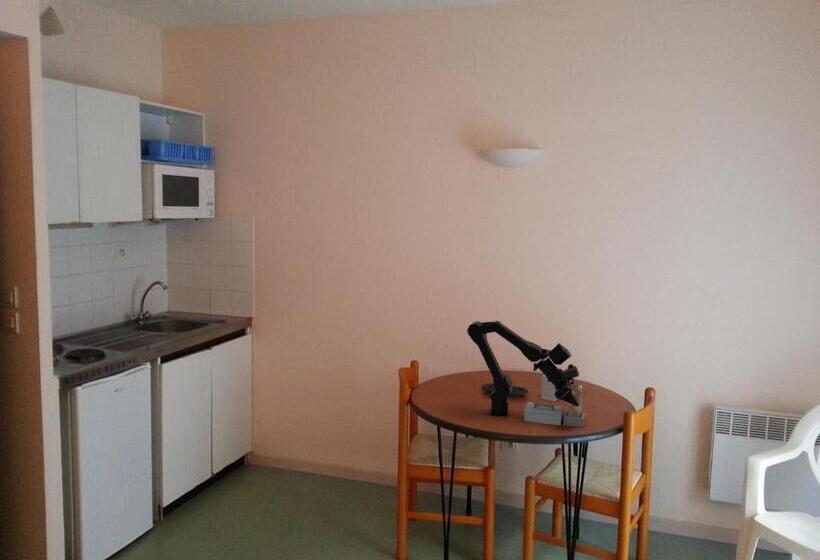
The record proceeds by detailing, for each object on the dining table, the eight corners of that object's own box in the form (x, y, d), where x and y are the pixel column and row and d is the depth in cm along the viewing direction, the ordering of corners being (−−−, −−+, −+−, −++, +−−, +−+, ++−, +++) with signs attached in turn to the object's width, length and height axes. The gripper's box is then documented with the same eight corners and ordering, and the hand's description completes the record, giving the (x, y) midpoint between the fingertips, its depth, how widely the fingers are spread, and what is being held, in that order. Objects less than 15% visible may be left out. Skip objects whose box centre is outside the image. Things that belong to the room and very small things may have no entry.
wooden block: (567, 424, 256) (570, 386, 254) (568, 420, 260) (570, 383, 258) (579, 425, 255) (581, 388, 253) (580, 421, 259) (582, 385, 257)
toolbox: (523, 421, 259) (524, 405, 258) (527, 412, 268) (528, 398, 268) (583, 428, 252) (584, 413, 251) (584, 419, 261) (585, 404, 261)
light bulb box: (552, 393, 296) (553, 370, 294) (565, 396, 292) (567, 372, 290) (540, 398, 288) (541, 374, 286) (554, 402, 283) (556, 377, 282)
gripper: (565, 365, 247) (593, 397, 245) (569, 354, 264) (596, 383, 262) (542, 383, 250) (571, 414, 248) (548, 371, 268) (574, 400, 266)
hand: (578, 402), depth 256 cm, fingers open, 8 cm apart
